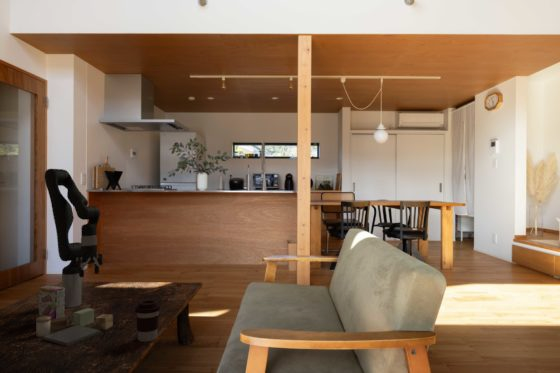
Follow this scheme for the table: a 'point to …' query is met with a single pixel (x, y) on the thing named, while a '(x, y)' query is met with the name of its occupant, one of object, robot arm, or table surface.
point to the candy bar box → (52, 302)
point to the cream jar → (43, 326)
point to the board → (71, 335)
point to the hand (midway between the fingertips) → (89, 275)
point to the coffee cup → (147, 320)
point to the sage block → (84, 317)
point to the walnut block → (58, 324)
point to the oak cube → (104, 321)
